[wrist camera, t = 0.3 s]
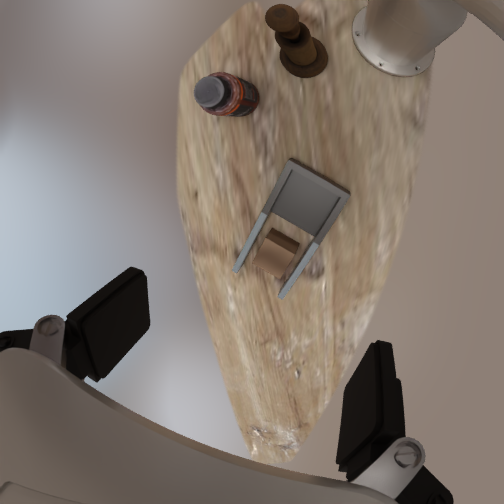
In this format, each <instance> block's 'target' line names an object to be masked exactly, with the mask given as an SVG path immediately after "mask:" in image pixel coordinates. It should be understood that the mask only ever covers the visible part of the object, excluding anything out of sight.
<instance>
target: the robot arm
mask: <svg viewBox="0 0 504 504" xmlns="http://www.w3.org/2000/svg"><path fill="white" fill-rule="evenodd" d="M467 11H468V12H469V13H471V14H473V15H474V16H476V17H477V18H478V19H479V20H481V21H482V22H483V23H484V24H485V25H487V26H488V27H489V28H490V29H491V30H493V31H494V32H495V33H496V34H497V35H498V36H499V37H500V38H502V40H504V0H368V5H367V6H366V7H364V8H363V9H361V10H360V11H359V12H358V13H357V15H356V16H355V18H354V21H353V25H352V36H353V40H354V43H355V45H356V48H357V49H358V51H359V52H360V54H361V55H362V56H363V57H364V58H365V60H366V61H368V62H369V63H370V64H371V65H372V66H374V67H375V68H377V69H379V70H380V71H382V72H385V73H387V74H390V75H394V76H400V77H410V76H414V75H418V74H420V73H421V72H423V71H425V70H426V69H427V68H428V67H429V66H430V65H431V63H432V61H433V59H434V55H435V47H437V46H438V45H439V44H440V43H441V42H443V41H444V40H445V39H446V38H448V37H449V36H450V35H451V34H453V33H454V32H455V31H457V30H458V29H459V28H460V27H461V26H462V25H463V23H464V20H465V19H466V16H467ZM357 34H358V35H359V37H358V36H356V35H357ZM379 64H381V65H382V66H379ZM415 68H417V70H416V69H415ZM66 317H67V320H66V321H65V322H64V320H63V319H62V318H61V317H60V316H57V315H47V316H44V317H42V318H41V319H39V320H38V321H37V322H36V324H35V326H34V329H26V330H14V331H4V332H1V333H0V504H453V496H452V494H451V493H450V491H449V490H448V489H447V488H445V486H444V485H443V484H442V483H441V482H439V481H438V479H436V478H435V476H434V475H432V474H431V473H430V472H429V471H428V469H426V467H425V466H424V465H423V464H424V462H425V450H424V448H423V446H422V445H421V444H420V443H419V441H417V440H415V439H413V438H410V437H406V436H405V419H404V406H403V395H402V386H401V381H400V380H399V379H398V378H396V371H395V363H394V356H393V349H392V344H391V343H389V342H385V341H380V340H377V341H376V342H375V343H371V344H370V345H369V348H368V349H367V351H366V353H365V355H364V357H363V358H362V360H361V362H360V364H359V365H358V367H357V368H356V370H355V372H354V373H353V375H352V377H351V378H350V380H349V382H348V383H347V385H346V387H345V390H344V396H343V407H342V417H341V426H340V434H339V442H338V449H337V456H336V464H339V470H338V471H340V472H347V474H346V478H347V479H348V480H346V481H341V480H335V479H330V478H325V477H320V476H314V475H309V474H304V473H299V472H295V471H290V470H286V469H282V468H278V467H274V466H270V465H266V464H262V463H259V462H255V461H252V460H249V459H245V458H242V457H239V456H236V455H232V454H230V453H227V452H224V451H221V450H218V449H215V448H212V447H210V446H207V445H205V444H202V443H200V442H197V441H195V440H192V439H190V438H187V437H185V436H183V435H180V434H178V433H176V432H174V431H171V430H169V429H167V428H165V427H163V426H161V425H159V424H157V423H154V422H152V421H151V420H149V419H147V418H145V417H142V416H141V415H139V414H137V413H135V412H133V411H131V410H130V409H128V408H126V407H124V406H122V405H120V404H119V403H117V402H115V401H114V400H112V399H110V398H109V397H107V396H105V395H104V394H102V393H101V392H99V391H97V390H96V389H94V388H93V387H91V386H90V385H88V384H87V383H85V382H84V378H85V377H86V376H88V377H89V378H91V379H92V380H94V381H95V382H98V381H99V380H100V379H101V378H105V377H106V376H107V375H108V374H109V373H110V371H111V370H112V369H113V368H114V367H115V366H116V365H117V364H118V363H119V361H120V360H121V359H122V358H123V357H124V356H125V355H126V354H127V353H128V351H129V350H130V349H131V348H132V347H133V346H134V345H135V343H137V341H138V340H139V339H140V338H141V337H142V336H143V335H144V334H145V333H146V331H147V330H148V329H149V326H150V314H149V302H148V288H147V277H146V275H145V274H144V272H143V271H142V270H140V269H137V268H134V267H129V268H128V269H127V270H125V271H124V272H122V273H121V274H120V275H118V276H117V277H116V278H114V279H113V280H112V281H110V282H109V283H108V284H106V285H105V286H104V287H103V288H101V289H100V290H99V291H97V292H96V293H95V294H93V295H92V296H91V297H90V298H88V299H87V300H86V301H84V302H83V303H82V304H81V305H79V306H78V307H77V308H76V309H74V310H73V311H72V312H70V313H69V314H68V315H67V316H66Z"/></svg>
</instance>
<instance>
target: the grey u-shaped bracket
mask: <svg viewBox="0 0 504 504" xmlns="http://www.w3.org/2000/svg"><path fill="white" fill-rule="evenodd" d="M349 197H350V192H349V191H348V190H346V189H345V188H343V187H341V186H340V185H338V184H336V183H335V182H333V181H331V180H330V179H328V178H326V177H324V176H323V175H321V174H319V173H317V172H316V171H314V170H312V169H310V168H309V167H307V166H305V165H303V164H301V163H300V162H298V161H296V160H294V159H292V158H291V159H289V160H288V162H287V164H286V165H285V167H284V169H283V171H282V173H281V175H280V177H279V179H278V181H277V183H276V185H275V187H274V189H273V191H272V193H271V195H270V196H269V198H268V200H267V202H266V204H265V206H264V208H263V210H262V212H261V214H260V216H259V218H258V220H257V222H256V224H255V226H254V228H253V230H252V232H251V234H250V236H249V238H248V239H247V241H246V243H245V245H244V247H243V249H242V251H241V253H240V255H239V257H238V259H237V261H236V263H235V265H234V267H233V269H232V271H233V272H235V273H238V271H239V270H240V268H241V267H242V265H243V263H244V261H245V259H246V257H247V256H248V254H249V252H250V250H251V248H252V246H253V244H254V242H255V240H256V238H257V237H258V235H259V233H260V231H261V229H262V227H263V225H264V223H265V221H266V219H267V218H268V216H269V214H270V212H273V213H275V214H277V215H278V216H280V217H282V218H284V219H285V220H287V221H289V222H291V223H292V224H294V225H296V226H298V227H299V228H301V229H303V230H304V231H306V232H308V233H310V234H311V235H313V236H315V237H314V238H313V240H312V241H311V243H310V245H309V246H308V248H307V249H306V251H305V252H304V254H303V256H302V257H301V259H300V260H299V262H298V263H297V265H296V266H295V268H294V269H293V271H292V273H291V274H290V276H289V277H288V279H287V280H286V282H285V283H284V285H283V286H282V288H281V289H280V292H279V294H278V297H279V298H280V299H282V300H283V298H284V297H285V295H286V294H287V292H288V291H289V290H290V288H291V287H292V285H293V284H294V282H295V281H296V279H297V278H298V276H299V275H300V273H301V272H302V270H303V269H304V267H305V266H306V264H307V263H308V261H309V260H310V258H311V257H312V255H313V254H314V252H315V251H316V249H317V248H318V246H319V245H320V243H321V242H322V240H323V239H324V237H325V235H326V234H327V232H328V231H329V229H330V228H331V226H332V224H333V223H334V221H335V220H336V218H337V217H338V215H339V213H340V212H341V210H342V208H343V207H344V205H345V204H346V202H347V200H348V199H349Z"/></svg>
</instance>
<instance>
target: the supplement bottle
mask: <svg viewBox="0 0 504 504" xmlns="http://www.w3.org/2000/svg"><path fill="white" fill-rule="evenodd" d="M194 98H195V100H196V101H197V103H198V104H199V105H200V106H201V107H202V108H203V110H205V111H206V112H207V113H209V114H212V115H219V116H237V117H238V116H245V115H248V114H250V113H251V112H252V111H253V110H254V109H255V108H256V106H257V104H258V101H259V94H258V91H257V89H256V87H255V86H254V85H253V84H251V83H250V82H248V81H246V80H243V79H241V78H239V77H236V76H234V75H231V74H228V73H224V72H217V73H213V74H210V75H209V76H207V77H204V78H202V79H201V80H199V81H198V83H197V84H196V86H195V89H194Z"/></svg>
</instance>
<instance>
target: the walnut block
mask: <svg viewBox="0 0 504 504" xmlns="http://www.w3.org/2000/svg"><path fill="white" fill-rule="evenodd" d="M298 246H299V243H298V242H296V241H294V240H293V239H291V238H289V237H287V236H286V235H284V234H282V233H281V232H279V231H277V230H275V229H274V228H272V229H271V231H270V232H269V234H268V235H267V237H266V238H265V240H264V242H263V244H262V246H261V247H260V249H259V251H258V253H257V255H256V256H255V258H254V260H253V262H252V263H253V264H254V265H256V266H258V267H260V268H261V269H263V270H265V271H266V272H268V273H270V274H272V275H273V276H275V277H277V278H279V279H280V278H281V276H282V275H283V273H284V271H285V270H286V268H287V267H288V265H289V263H290V262H291V260H292V259H293V257H294V256H295V253H296V251H297V248H298Z"/></svg>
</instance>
